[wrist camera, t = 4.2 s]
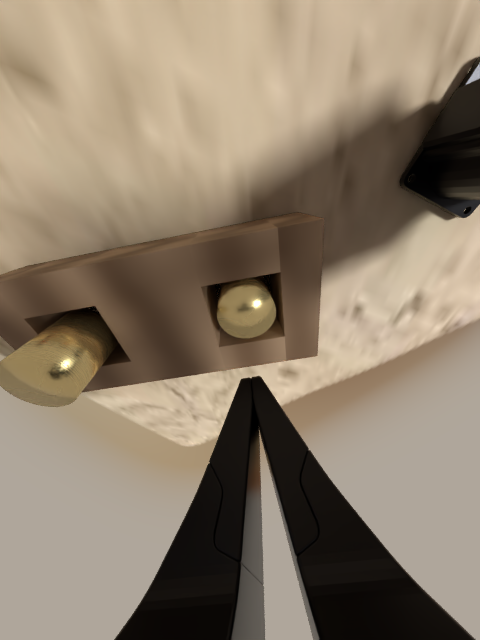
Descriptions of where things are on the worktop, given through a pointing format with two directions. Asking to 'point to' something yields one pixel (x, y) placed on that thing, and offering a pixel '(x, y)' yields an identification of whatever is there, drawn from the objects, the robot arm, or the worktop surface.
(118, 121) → the worktop surface
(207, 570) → the robot arm
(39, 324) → the walnut block
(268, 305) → the peg
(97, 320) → the peg
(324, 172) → the worktop surface
